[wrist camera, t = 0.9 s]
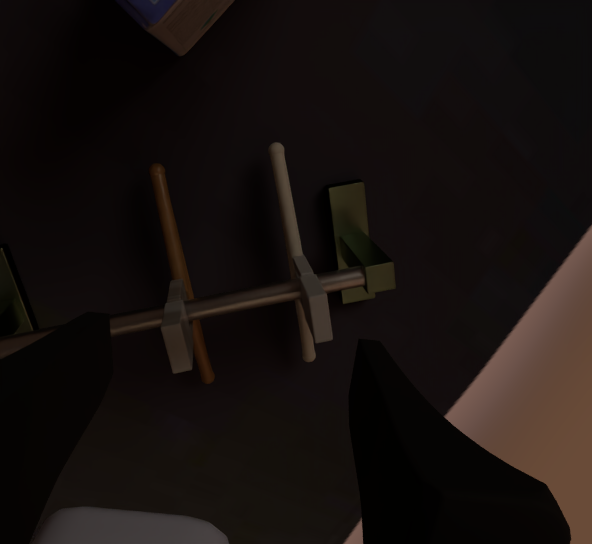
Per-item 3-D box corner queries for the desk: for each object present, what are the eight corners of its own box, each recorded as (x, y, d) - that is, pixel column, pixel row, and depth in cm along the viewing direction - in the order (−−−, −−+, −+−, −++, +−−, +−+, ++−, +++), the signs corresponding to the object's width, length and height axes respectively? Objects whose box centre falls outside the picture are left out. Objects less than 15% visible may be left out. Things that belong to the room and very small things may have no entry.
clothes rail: (371, 292, 31) (405, 338, 26) (14, 365, 29) (-30, 431, 24) (360, 178, 29) (395, 202, 23) (-32, 250, 27) (-94, 294, 21)
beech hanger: (215, 377, 31) (218, 470, 23) (202, 380, 31) (200, 473, 23) (163, 160, 26) (146, 193, 19) (147, 163, 26) (124, 197, 19)
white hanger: (315, 356, 31) (347, 440, 24) (302, 359, 31) (330, 444, 24) (281, 140, 26) (309, 164, 19) (266, 143, 26) (288, 168, 19)
